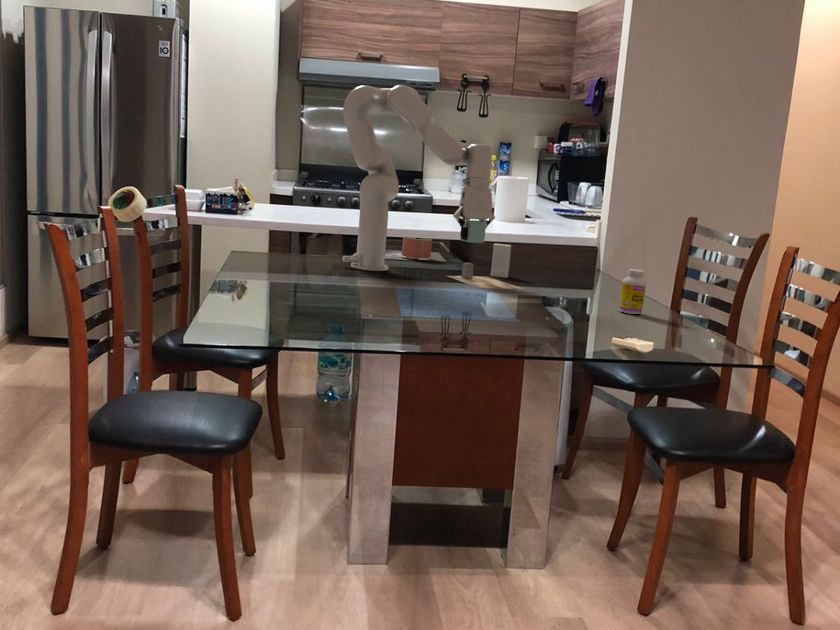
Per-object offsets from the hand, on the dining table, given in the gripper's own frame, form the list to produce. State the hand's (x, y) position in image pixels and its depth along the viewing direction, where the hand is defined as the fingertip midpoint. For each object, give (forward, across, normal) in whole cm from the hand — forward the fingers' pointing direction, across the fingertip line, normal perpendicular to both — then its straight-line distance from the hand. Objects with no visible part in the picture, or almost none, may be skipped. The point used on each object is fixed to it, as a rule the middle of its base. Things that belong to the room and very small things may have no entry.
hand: (472, 239), depth 285 cm
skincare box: (+15, +16, +8) cm, 23 cm away
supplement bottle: (+15, +28, -48) cm, 57 cm away
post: (+13, 0, 0) cm, 13 cm away
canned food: (+14, +8, +52) cm, 55 cm away
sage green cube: (+1, 0, 0) cm, 1 cm away
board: (+14, +2, -6) cm, 16 cm away
